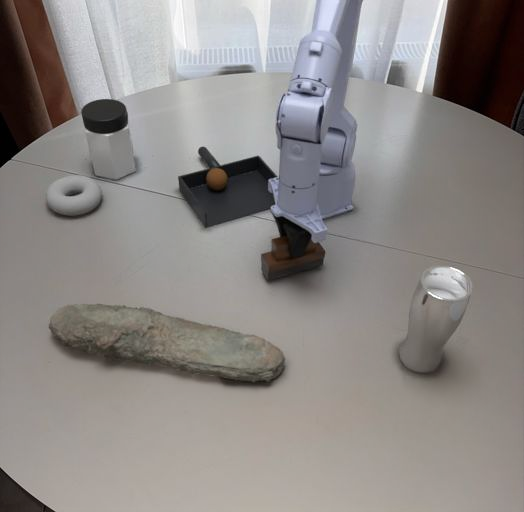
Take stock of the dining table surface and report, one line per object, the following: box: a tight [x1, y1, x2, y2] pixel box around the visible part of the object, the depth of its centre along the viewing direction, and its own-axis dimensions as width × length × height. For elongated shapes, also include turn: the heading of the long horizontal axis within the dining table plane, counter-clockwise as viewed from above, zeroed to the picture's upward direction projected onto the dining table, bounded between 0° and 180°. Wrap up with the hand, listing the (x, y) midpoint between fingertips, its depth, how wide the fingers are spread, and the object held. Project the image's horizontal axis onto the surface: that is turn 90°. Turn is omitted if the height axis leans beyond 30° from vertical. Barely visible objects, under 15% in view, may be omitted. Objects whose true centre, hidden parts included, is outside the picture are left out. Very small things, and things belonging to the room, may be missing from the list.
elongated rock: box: [48, 303, 286, 383], centre depth 83 cm, size 35×5×10 cm
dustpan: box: [177, 146, 279, 229], centre depth 111 cm, size 21×17×3 cm
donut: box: [45, 174, 103, 217], centre depth 106 cm, size 10×4×10 cm
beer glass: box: [398, 264, 474, 374], centre depth 79 cm, size 7×7×15 cm
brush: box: [260, 235, 326, 281], centre depth 93 cm, size 10×3×6 cm, turn 112°
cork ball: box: [206, 168, 227, 190], centre depth 109 cm, size 4×4×4 cm
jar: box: [80, 98, 137, 181], centre depth 110 cm, size 9×8×12 cm
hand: (292, 251), depth 93 cm, fingers closed on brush, 2 cm apart
